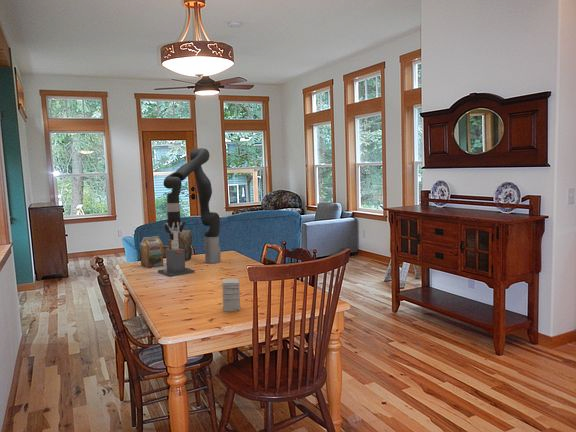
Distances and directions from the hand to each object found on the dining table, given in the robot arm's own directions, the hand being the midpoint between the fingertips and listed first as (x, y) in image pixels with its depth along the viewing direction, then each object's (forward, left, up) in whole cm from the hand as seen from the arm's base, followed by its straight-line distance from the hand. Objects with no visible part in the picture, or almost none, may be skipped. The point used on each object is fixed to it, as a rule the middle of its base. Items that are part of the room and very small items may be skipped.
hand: (174, 239), depth 285 cm
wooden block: (-9, -16, -20) cm, 27 cm away
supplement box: (+19, +86, -20) cm, 90 cm away
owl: (-24, -35, -20) cm, 47 cm away
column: (0, 0, -13) cm, 13 cm away
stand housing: (0, 0, -20) cm, 20 cm away
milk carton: (+1, -30, -20) cm, 36 cm away
